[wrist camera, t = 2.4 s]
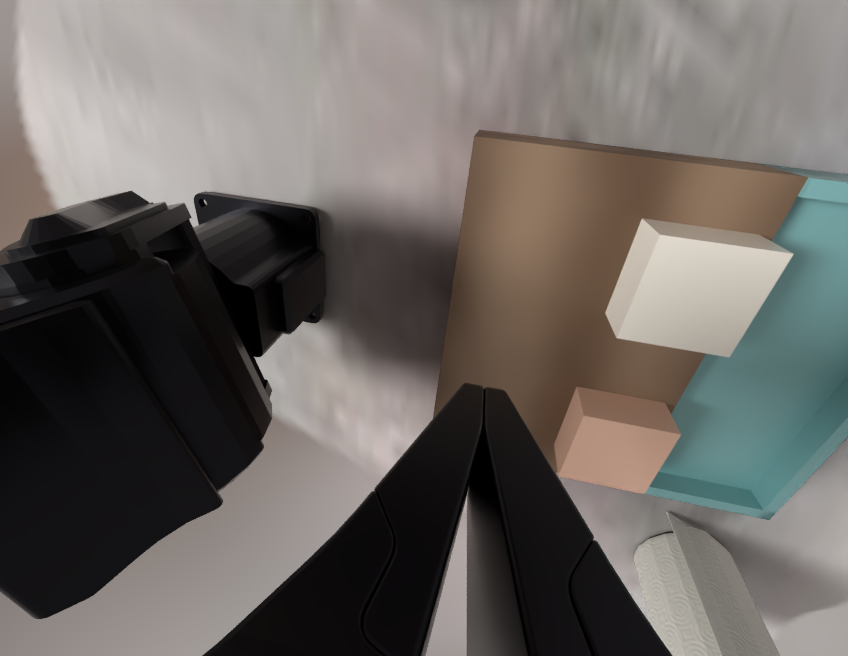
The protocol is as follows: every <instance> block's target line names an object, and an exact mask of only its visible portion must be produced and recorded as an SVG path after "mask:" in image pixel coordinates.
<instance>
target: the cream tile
mask: <svg viewBox="0 0 848 656" xmlns="http://www.w3.org/2000/svg"><path fill="white" fill-rule="evenodd" d="M792 256H793V253H791V252H790V251H788V250H786V249H784V248H782V247H781V246H779V245H777V244H775V243H773V242H772V241H770V240H768V239H766V238H764V237H762V236H761V235H759V234H751V233H744V232H737V231H730V230H723V229H715V228H708V227H701V226H694V225H687V224H679V223H672V222H665V221H658V220H651V219H643V218H642V220H641V222H640V225H639V227H638V230H637V232H636V235H635V238H634V240H633V243H632V245H631V248H630V251H629V253H628V256H627V258H626V261H625V263H624V266H623V269H622V271H621V274H620V276H619V279H618V281H617V284H616V287H615V289H614V292H613V294H612V297H611V299H610V302H609V305H608V307H607V310H606V312H605V314H606V316H607V318H608V320H609V323H610V325H611V327H612V329H613V332H614V334H615V336H616V338H618V339H624V340H630V341H636V342H642V343H648V344H653V345H659V346H665V347H671V348H677V349H683V350H689V351H694V352H700V353H706V354H712V355H718V356H724V357H730V356H731V354H732V352H733V351H734V349H735V348H736V346H737V344H738V343H739V341H740V340H741V338H742V336H743V335H744V333H745V332H746V330H747V328H748V327H749V325H750V324H751V322H752V320H753V319H754V317H755V316H756V314H757V312H758V311H759V309H760V307H761V306H762V304H763V303H764V301H765V299H766V298H767V296H768V295H769V293H770V291H771V290H772V288H773V287H774V285H775V283H776V282H777V280H778V279H779V277H780V275H781V274H782V272H783V271H784V269H785V267H786V266H787V264H788V263H789V261H790V259H791V258H792Z"/></svg>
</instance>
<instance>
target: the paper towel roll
mask: <svg viewBox="0 0 848 656" xmlns="http://www.w3.org/2000/svg"><path fill="white" fill-rule="evenodd" d="M666 514H667V517H668V519H669V522H670V524H671V527H672V530H673V532H674V533H668V534H662V535H659V536H656V537H653V538H650V539H648V540H646V541H645V542H644V543H642V544H641V545H640V546H638V548H637V550H636V552H635V555H634V562H635V566H636V569H637V573H638V577H639V580H640V584H641V588H642V591H643V595H644V599H645V602H646V606H647V610H648V613H649V617H650V621H651V624H652V627H653V628H654V630H655V631H656V633H657V634H658V636H659V637H660V639H661V640H662V641H663V643H664V644H665V646H666V647H667V648H668V650H669V651H670V653H671V654H672V655H673V656H780V654H779V652H778V650H777V648H776V646H775V644H774V642H773V640H772V638H771V636H770V634H769V632H768V630H767V628H766V626H765V624H764V621H763V619H762V617H761V615H760V613H759V611H758V609H757V607H756V605H755V603H754V601H753V599H752V597H751V595H750V593H749V591H748V589H747V587H746V585H745V583H744V580H743V578H742V576H741V574H740V572H739V570H738V568H737V566H736V564H735V562H734V560H733V558H732V556H731V554H730V553H729V552H728V551H727V550H726V549H725V548H724V547H723V546H722V545H721V544H720V543H719V542H718V541H716V540H715V539H714V538H713V537H712V536H710V535H709V534H708V533H707V532H705V531H702V530H699V529H696V528H694V527H691V526H688V525H685V524H683V523H681V522H679V521H677V520H676V519H674V518H672V517H671V516H670V515H669V514H668V513H667V512H666Z"/></svg>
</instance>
